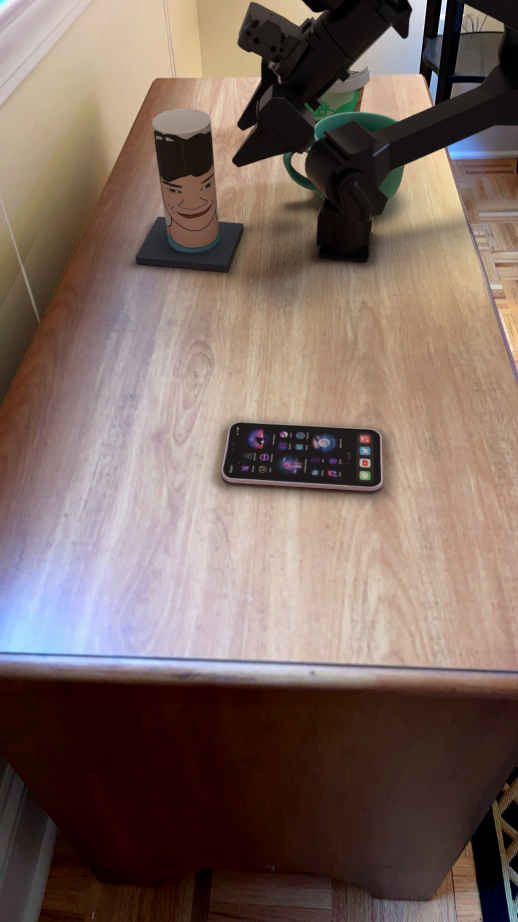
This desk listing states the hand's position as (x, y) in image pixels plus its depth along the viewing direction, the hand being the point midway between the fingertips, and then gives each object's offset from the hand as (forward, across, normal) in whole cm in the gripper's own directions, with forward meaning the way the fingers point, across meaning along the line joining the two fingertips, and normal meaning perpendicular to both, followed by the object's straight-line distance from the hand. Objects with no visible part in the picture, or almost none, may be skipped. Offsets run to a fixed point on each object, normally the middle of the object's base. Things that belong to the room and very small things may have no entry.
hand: (237, 145), depth 80 cm
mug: (0, -12, +19) cm, 23 cm away
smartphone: (+4, +36, +15) cm, 40 cm away
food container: (+2, -32, +18) cm, 37 cm away
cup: (+13, -1, +4) cm, 14 cm away
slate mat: (+14, 0, +5) cm, 15 cm away
